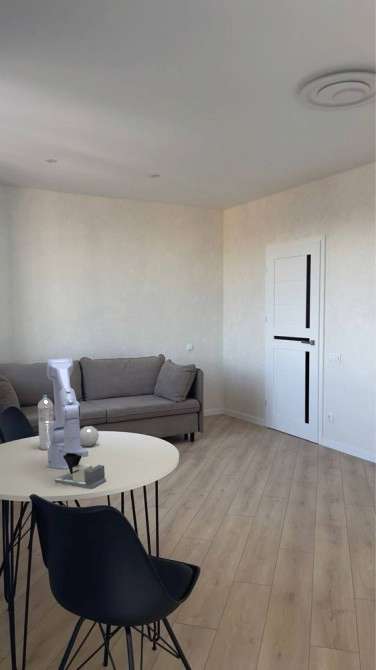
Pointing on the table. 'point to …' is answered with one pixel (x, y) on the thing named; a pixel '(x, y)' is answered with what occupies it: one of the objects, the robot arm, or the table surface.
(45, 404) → the water bottle
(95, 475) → the grey rectangular block
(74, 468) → the off-white block with tab
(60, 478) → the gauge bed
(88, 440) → the glossy grey ball
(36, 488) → the table surface
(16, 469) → the table surface
